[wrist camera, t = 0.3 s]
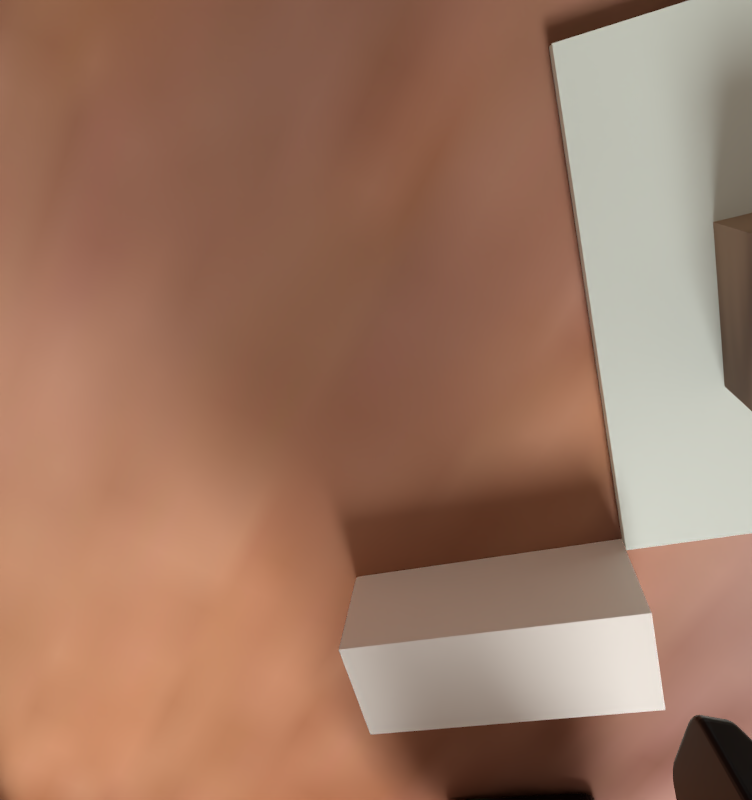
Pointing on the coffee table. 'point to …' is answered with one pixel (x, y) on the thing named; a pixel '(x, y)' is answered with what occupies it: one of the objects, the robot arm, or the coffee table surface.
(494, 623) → the lintel
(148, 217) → the coffee table surface
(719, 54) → the board
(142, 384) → the coffee table surface
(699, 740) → the robot arm
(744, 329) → the block
